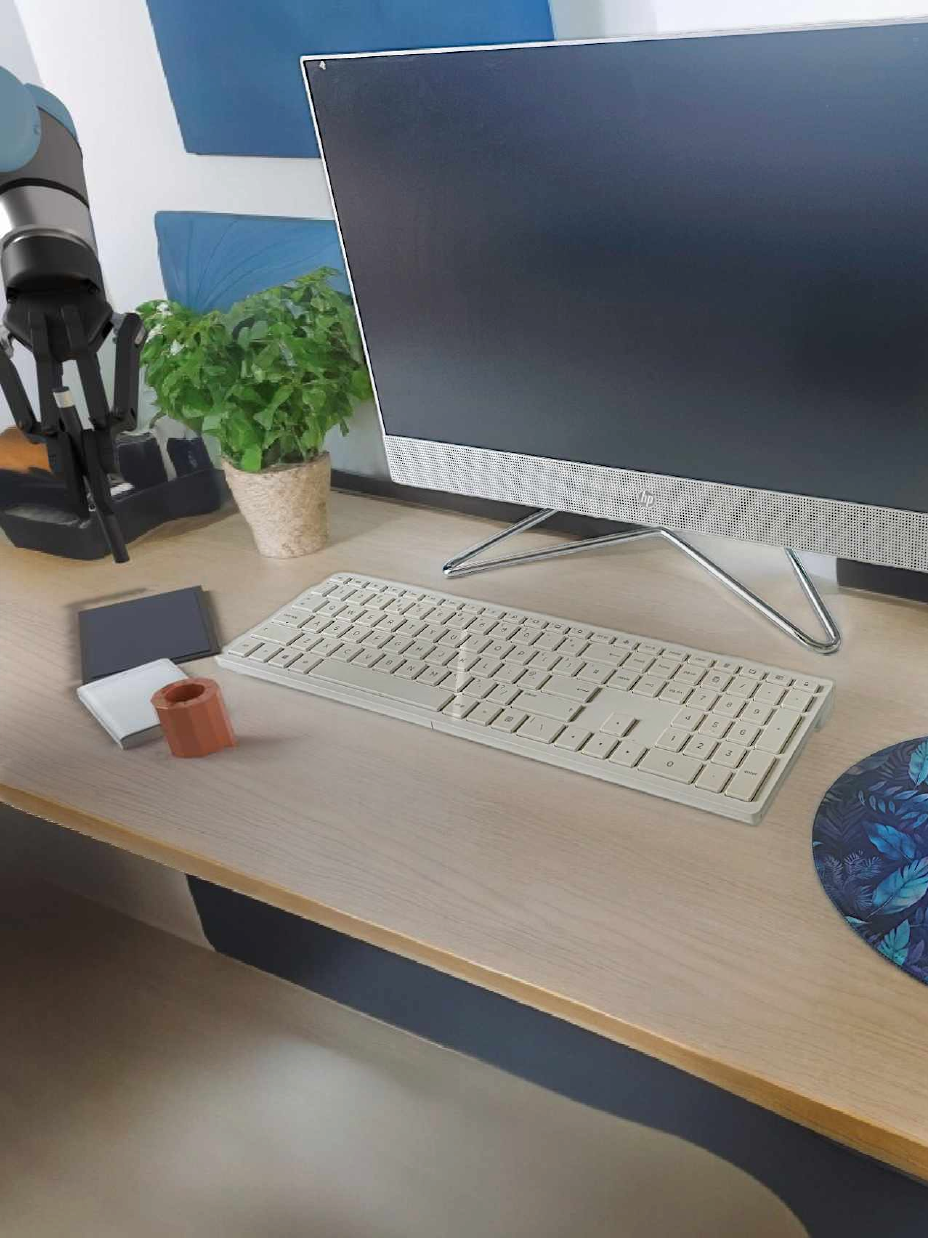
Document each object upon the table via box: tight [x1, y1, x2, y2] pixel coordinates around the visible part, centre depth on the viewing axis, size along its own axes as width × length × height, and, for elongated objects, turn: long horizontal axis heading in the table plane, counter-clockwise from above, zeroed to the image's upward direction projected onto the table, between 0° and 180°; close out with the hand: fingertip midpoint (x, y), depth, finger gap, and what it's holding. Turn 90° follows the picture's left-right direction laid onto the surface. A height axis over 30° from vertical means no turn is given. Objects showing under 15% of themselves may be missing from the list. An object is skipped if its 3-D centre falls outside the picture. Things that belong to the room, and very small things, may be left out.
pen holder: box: [150, 677, 238, 759], centre depth 96 cm, size 5×5×6 cm
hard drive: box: [76, 658, 191, 751], centre depth 105 cm, size 2×8×12 cm
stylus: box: [53, 385, 131, 564], centre depth 100 cm, size 1×1×15 cm
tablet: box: [77, 584, 222, 686], centre depth 118 cm, size 18×12×1 cm, turn 27°
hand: (92, 509), depth 97 cm, fingers closed on stylus
